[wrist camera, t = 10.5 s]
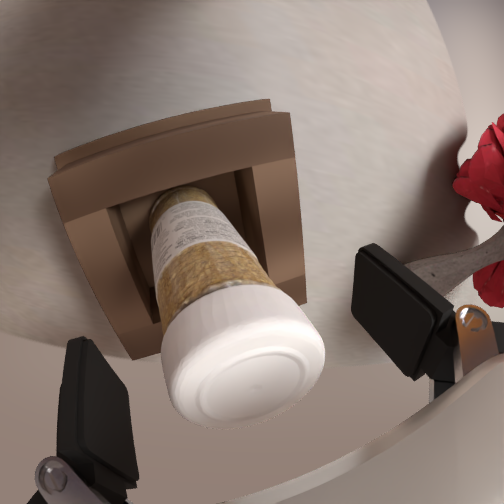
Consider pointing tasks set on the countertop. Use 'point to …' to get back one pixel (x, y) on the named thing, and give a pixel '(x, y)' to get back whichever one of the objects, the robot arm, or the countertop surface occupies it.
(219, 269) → the sprinkles bottle
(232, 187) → the socket block
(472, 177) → the bouquet
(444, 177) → the countertop surface
